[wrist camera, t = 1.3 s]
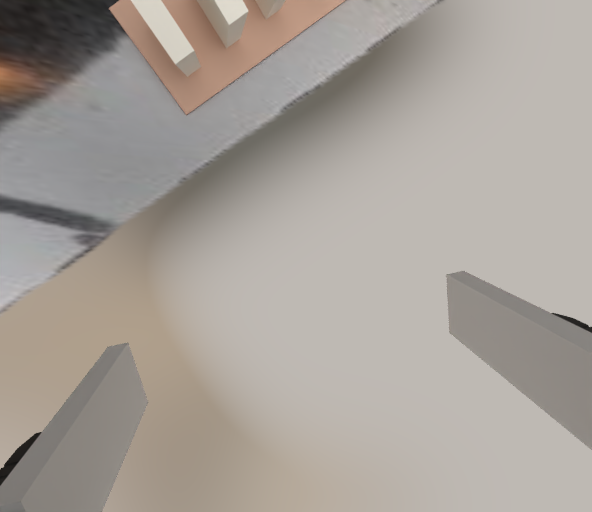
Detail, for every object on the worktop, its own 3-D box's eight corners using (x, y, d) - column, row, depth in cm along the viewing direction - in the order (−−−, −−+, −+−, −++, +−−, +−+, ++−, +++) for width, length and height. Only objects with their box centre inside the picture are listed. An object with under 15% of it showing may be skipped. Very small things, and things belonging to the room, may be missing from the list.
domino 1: (187, 76, 33) (175, 64, 24) (149, 22, 31) (120, -14, 22) (201, 66, 33) (194, 50, 24) (164, 11, 30) (141, -30, 21)
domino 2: (226, 48, 32) (229, 25, 23) (191, -9, 30) (179, -59, 21) (240, 38, 32) (248, 10, 23) (206, -20, 30) (200, -75, 21)
